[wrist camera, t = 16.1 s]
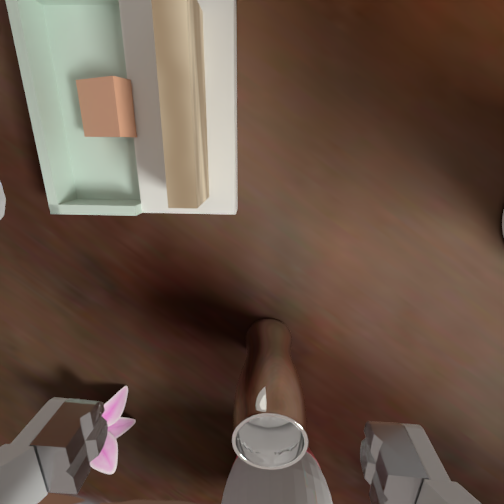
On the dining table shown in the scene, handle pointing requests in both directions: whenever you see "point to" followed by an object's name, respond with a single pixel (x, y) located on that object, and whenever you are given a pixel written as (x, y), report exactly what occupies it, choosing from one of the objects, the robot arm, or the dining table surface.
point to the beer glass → (269, 401)
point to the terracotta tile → (106, 107)
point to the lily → (113, 432)
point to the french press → (2, 201)
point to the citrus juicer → (277, 484)
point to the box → (74, 103)
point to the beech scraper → (182, 100)
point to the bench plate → (217, 104)
